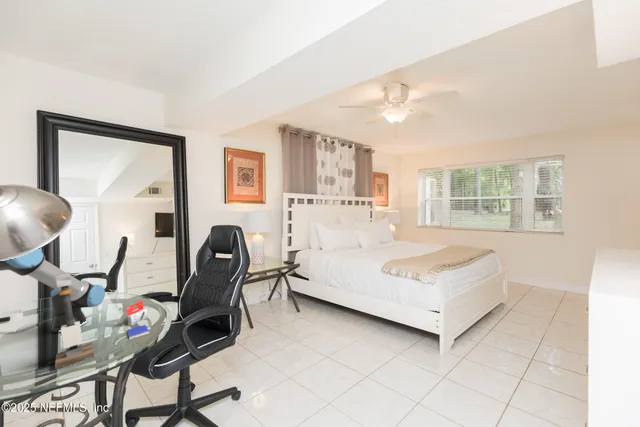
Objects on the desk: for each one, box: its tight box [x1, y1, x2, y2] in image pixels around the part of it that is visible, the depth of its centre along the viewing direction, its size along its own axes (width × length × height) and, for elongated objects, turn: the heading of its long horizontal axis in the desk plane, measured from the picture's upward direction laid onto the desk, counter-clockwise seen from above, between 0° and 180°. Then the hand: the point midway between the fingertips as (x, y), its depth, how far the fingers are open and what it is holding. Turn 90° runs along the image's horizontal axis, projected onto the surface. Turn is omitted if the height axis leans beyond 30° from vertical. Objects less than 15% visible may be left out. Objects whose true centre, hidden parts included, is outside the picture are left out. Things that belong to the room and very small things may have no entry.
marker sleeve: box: [60, 321, 83, 350], centre depth 125 cm, size 6×6×8 cm
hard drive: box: [127, 324, 150, 340], centre depth 146 cm, size 2×8×12 cm
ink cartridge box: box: [125, 300, 149, 326], centre depth 162 cm, size 2×11×10 cm, turn 168°
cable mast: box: [54, 271, 95, 370], centre depth 125 cm, size 14×12×36 cm
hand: (22, 314), depth 116 cm, fingers open, 13 cm apart
